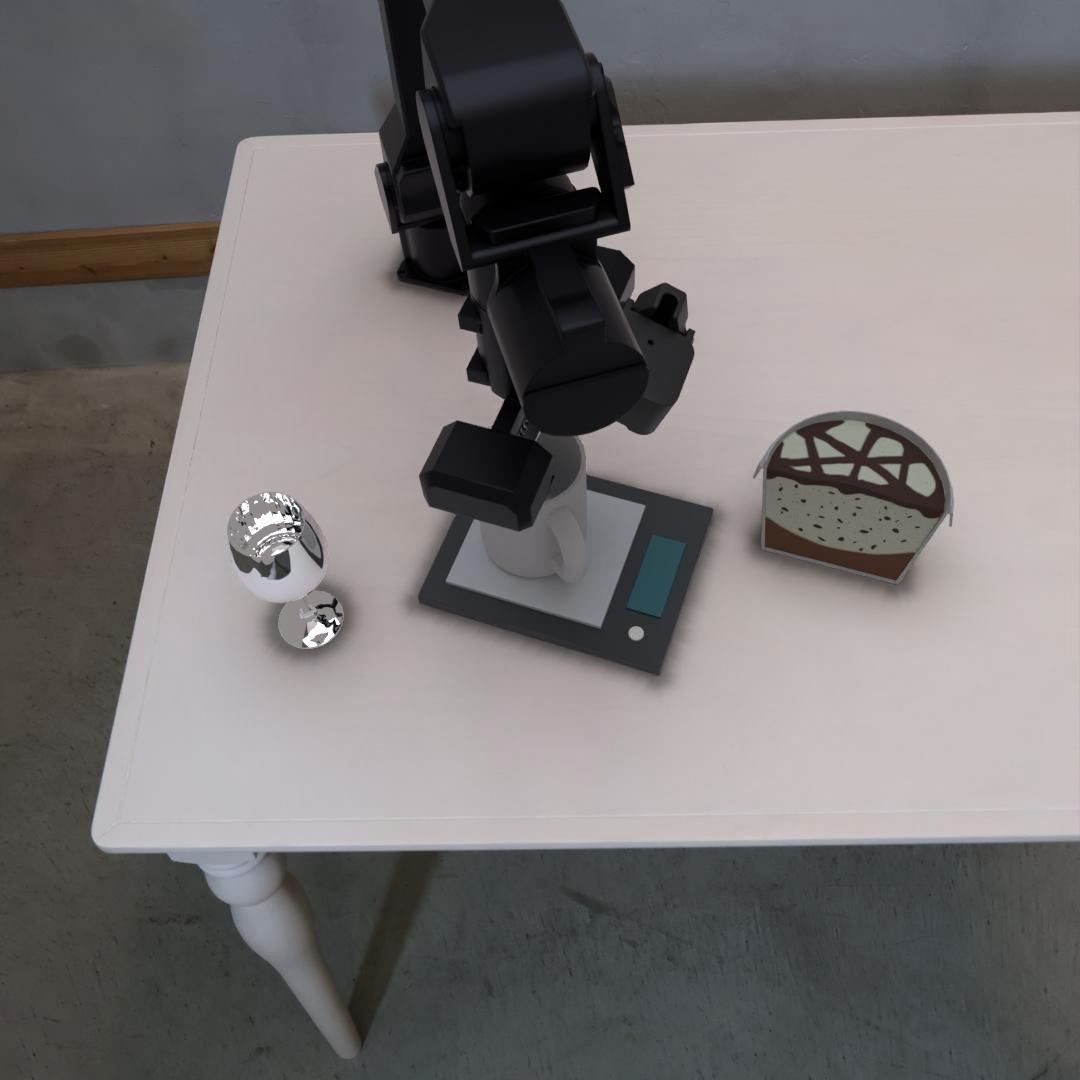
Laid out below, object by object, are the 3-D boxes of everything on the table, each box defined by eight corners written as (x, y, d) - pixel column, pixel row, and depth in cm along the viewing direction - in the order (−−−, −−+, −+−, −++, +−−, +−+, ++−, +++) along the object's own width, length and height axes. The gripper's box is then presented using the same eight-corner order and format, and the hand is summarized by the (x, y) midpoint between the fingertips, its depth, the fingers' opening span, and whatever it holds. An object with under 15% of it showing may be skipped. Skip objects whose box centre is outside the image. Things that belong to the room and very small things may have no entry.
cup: (553, 476, 80) (548, 396, 72) (629, 580, 75) (632, 506, 68) (464, 521, 78) (449, 444, 71) (536, 630, 74) (528, 561, 66)
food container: (935, 516, 78) (975, 429, 70) (920, 590, 75) (960, 508, 67) (760, 474, 81) (778, 384, 72) (739, 543, 78) (756, 459, 69)
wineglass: (286, 672, 74) (236, 582, 64) (257, 605, 77) (204, 508, 67) (366, 634, 76) (329, 540, 65) (334, 569, 78) (294, 469, 68)
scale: (419, 603, 77) (416, 593, 76) (488, 455, 83) (486, 444, 82) (659, 675, 73) (660, 666, 72) (712, 515, 79) (714, 504, 78)
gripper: (624, 465, 50) (620, 628, 63) (732, 187, 59) (709, 381, 72) (394, 405, 52) (437, 574, 65) (532, 147, 61) (545, 341, 74)
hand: (541, 462), depth 69 cm, fingers open, 9 cm apart
